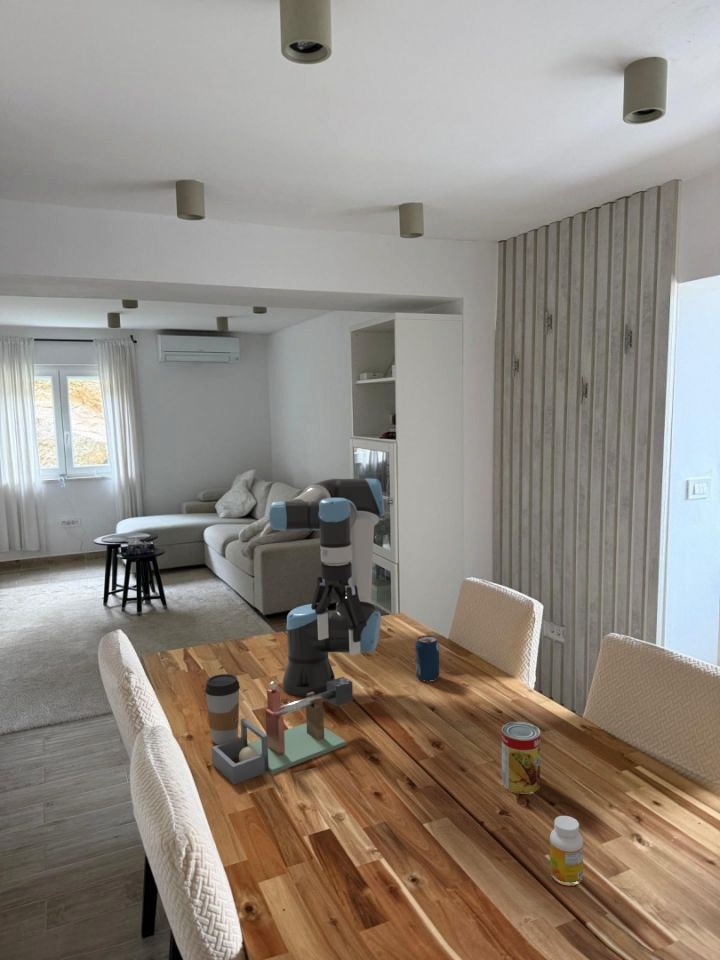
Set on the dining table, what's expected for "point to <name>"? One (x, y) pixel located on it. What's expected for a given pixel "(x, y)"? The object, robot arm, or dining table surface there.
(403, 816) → the dining table surface
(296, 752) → the mat
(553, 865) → the supplement bottle
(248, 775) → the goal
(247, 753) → the ball
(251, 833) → the dining table surface
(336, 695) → the stand
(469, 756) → the dining table surface
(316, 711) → the foosball player figure
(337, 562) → the robot arm
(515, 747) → the canned food
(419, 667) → the soda can
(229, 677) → the coffee cup
